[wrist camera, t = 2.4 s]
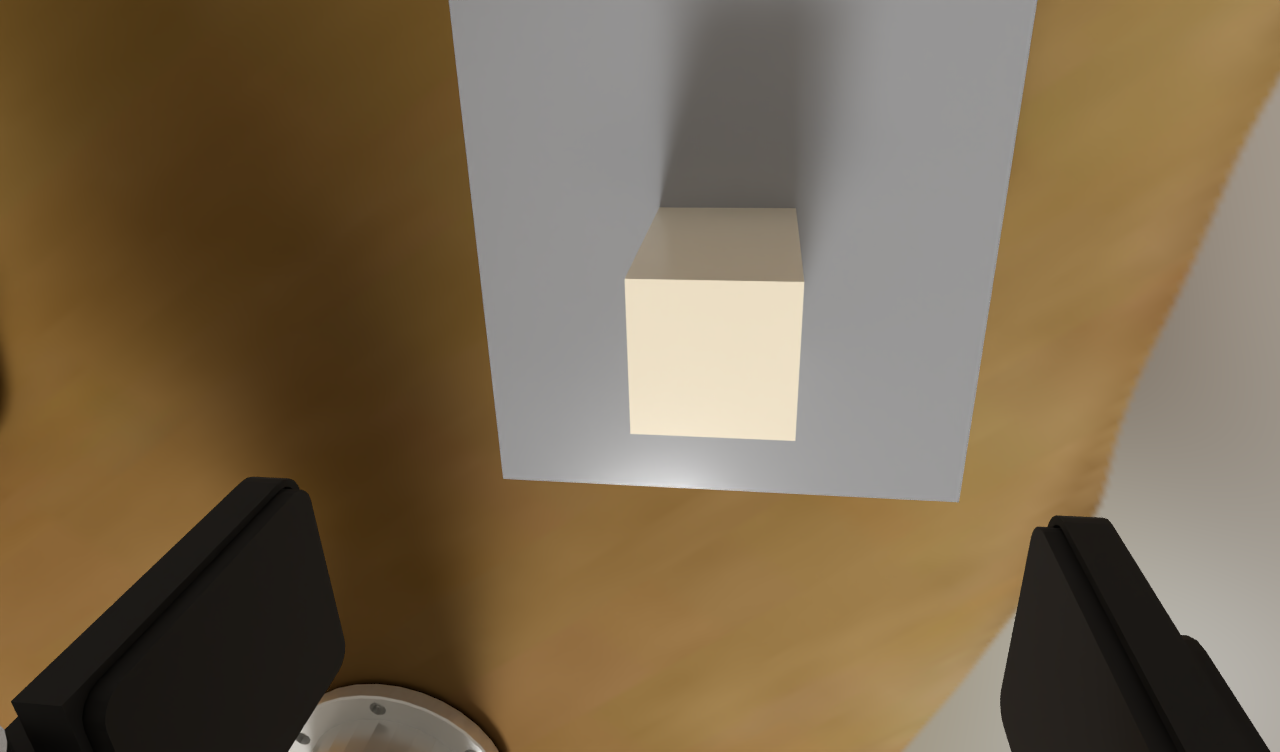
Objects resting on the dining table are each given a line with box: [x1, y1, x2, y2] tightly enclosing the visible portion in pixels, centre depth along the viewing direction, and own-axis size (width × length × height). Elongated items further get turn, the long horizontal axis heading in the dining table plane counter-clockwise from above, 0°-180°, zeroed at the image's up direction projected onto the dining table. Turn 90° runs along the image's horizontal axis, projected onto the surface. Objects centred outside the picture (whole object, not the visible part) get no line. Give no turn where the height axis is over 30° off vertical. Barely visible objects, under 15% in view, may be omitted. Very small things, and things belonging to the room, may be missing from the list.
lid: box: [449, 0, 1037, 502], centre depth 21 cm, size 14×14×8 cm
